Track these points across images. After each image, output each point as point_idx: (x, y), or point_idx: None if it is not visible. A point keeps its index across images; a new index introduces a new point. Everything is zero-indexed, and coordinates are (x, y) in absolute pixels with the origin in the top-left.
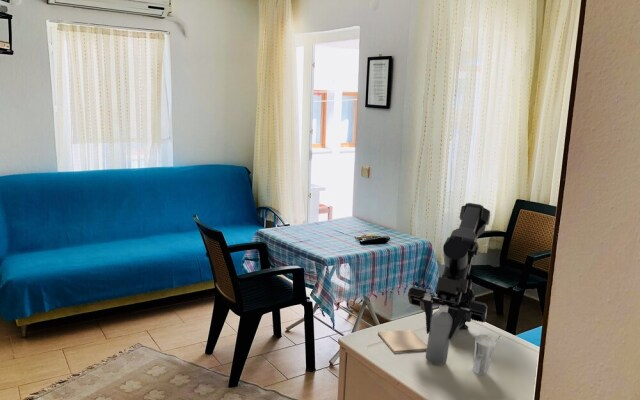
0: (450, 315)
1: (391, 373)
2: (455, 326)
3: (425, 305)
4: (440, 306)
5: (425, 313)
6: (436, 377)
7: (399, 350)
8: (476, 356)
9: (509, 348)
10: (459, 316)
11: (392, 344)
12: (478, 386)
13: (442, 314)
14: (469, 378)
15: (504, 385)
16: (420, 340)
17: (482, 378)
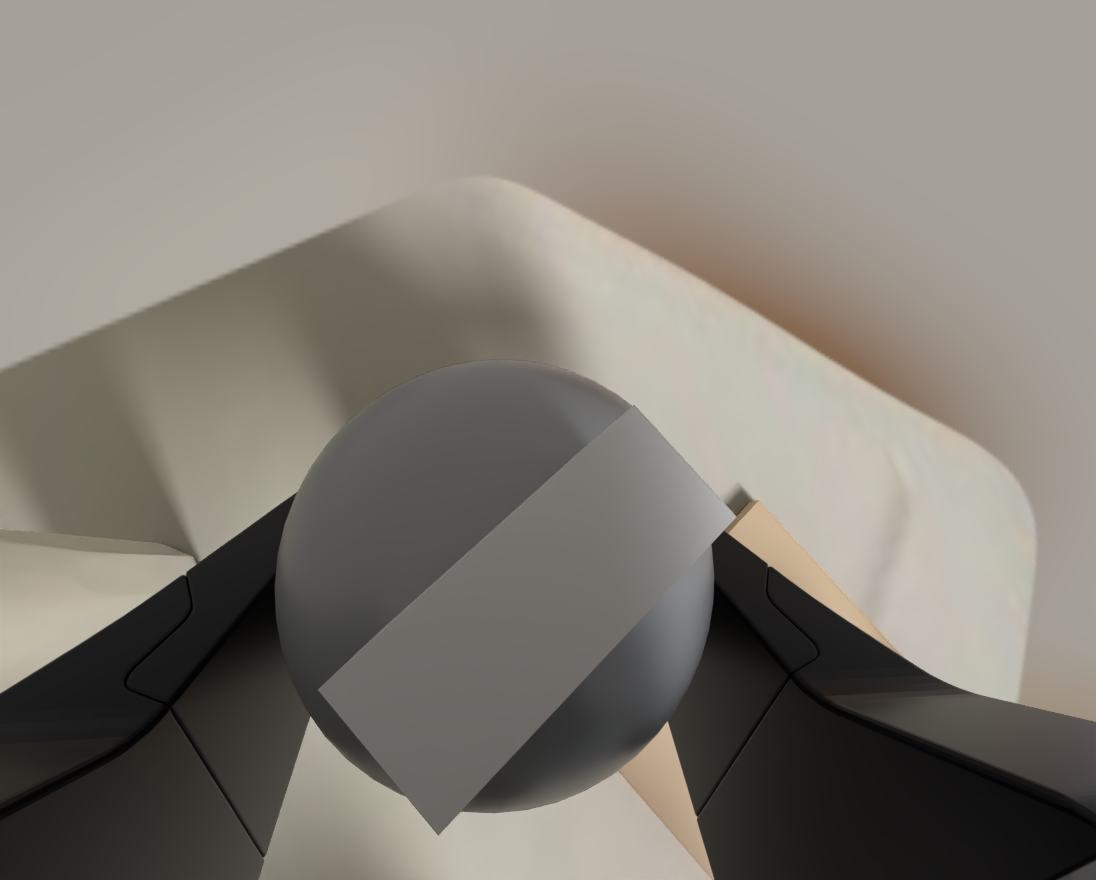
0: (303, 634)
1: (680, 275)
2: (234, 555)
3: (1032, 716)
4: (666, 451)
5: (836, 614)
6: (445, 358)
7: (734, 526)
8: (96, 553)
9: None
10: (11, 750)
11: (801, 581)
12: (167, 389)
13: (502, 429)
14: (232, 459)
15: None
16: (660, 793)
17: (133, 511)
